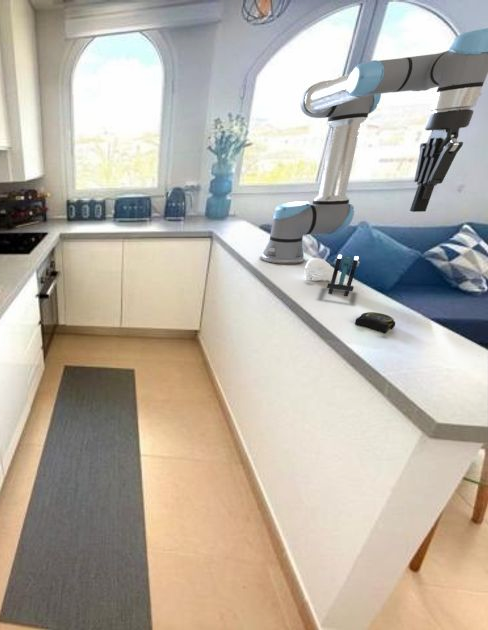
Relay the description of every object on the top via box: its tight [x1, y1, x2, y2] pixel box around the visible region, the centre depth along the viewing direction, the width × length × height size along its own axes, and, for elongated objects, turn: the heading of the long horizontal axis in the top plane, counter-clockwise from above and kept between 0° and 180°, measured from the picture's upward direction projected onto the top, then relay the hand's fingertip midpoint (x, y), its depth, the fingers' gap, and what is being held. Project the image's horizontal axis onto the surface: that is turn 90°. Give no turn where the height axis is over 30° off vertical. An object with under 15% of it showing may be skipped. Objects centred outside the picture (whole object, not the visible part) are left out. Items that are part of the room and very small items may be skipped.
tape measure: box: [354, 311, 396, 334], centre depth 88 cm, size 7×7×4 cm
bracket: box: [327, 254, 361, 297], centre depth 107 cm, size 11×8×13 cm
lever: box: [326, 256, 355, 292], centre depth 102 cm, size 13×6×2 cm, turn 141°
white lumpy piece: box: [304, 257, 346, 284], centre depth 118 cm, size 6×8×12 cm
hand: (417, 211), depth 93 cm, fingers closed
